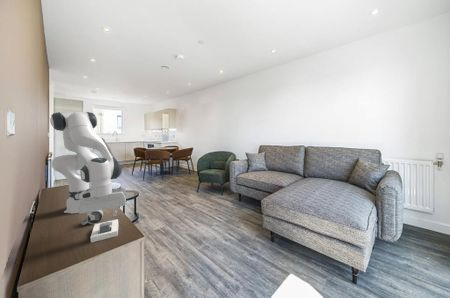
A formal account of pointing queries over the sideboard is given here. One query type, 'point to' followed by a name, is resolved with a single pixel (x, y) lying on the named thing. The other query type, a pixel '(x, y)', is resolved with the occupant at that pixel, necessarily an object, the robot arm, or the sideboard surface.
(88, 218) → the ceramic mug
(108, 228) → the plug
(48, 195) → the sideboard surface
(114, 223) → the outlet plate
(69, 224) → the sideboard surface
